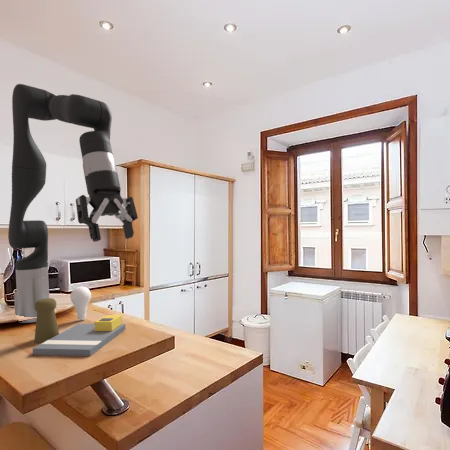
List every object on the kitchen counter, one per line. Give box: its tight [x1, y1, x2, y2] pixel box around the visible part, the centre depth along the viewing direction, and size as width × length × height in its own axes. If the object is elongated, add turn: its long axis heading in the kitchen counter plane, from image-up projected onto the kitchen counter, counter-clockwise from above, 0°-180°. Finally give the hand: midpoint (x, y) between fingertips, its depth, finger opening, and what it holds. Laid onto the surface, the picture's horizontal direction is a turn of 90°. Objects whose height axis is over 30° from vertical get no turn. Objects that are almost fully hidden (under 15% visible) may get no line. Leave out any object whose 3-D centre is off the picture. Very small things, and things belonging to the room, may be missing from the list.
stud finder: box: [94, 314, 123, 331], centre depth 88 cm, size 5×6×3 cm
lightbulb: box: [69, 285, 92, 321], centre depth 101 cm, size 6×6×11 cm
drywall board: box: [32, 323, 126, 357], centre depth 83 cm, size 15×18×2 cm
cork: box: [33, 297, 60, 344], centre depth 85 cm, size 6×6×11 cm
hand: (113, 239), depth 73 cm, fingers open, 8 cm apart
